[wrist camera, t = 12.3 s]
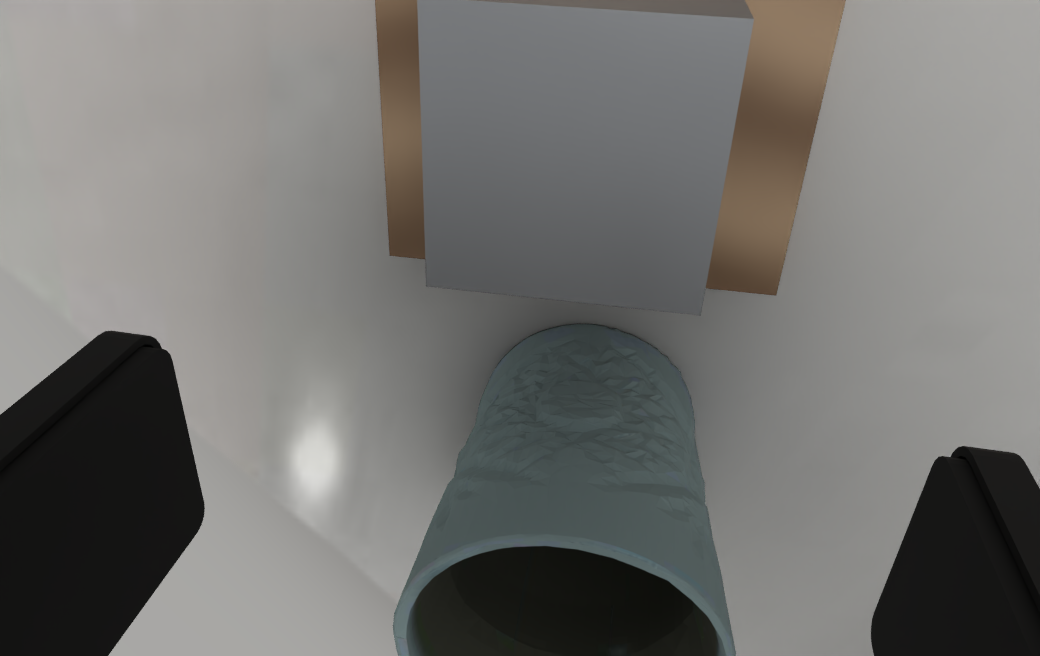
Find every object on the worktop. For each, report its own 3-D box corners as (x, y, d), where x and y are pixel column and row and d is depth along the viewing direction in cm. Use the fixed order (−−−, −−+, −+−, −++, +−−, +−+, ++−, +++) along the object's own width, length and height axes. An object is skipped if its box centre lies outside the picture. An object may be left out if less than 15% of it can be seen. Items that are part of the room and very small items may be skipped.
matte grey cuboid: (727, -35, 23) (753, 18, 16) (691, 194, 27) (700, 315, 20) (487, -49, 24) (417, -4, 17) (485, 175, 27) (426, 286, 21)
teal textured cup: (592, 259, 30) (554, 479, 19) (769, 424, 32) (816, 693, 22) (425, 404, 34) (325, 640, 24) (590, 537, 37) (562, 800, 27)
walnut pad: (772, 281, 29) (776, 295, 28) (397, 244, 30) (389, 255, 30) (878, -176, 21) (887, -176, 21) (375, -195, 23) (363, -196, 22)
